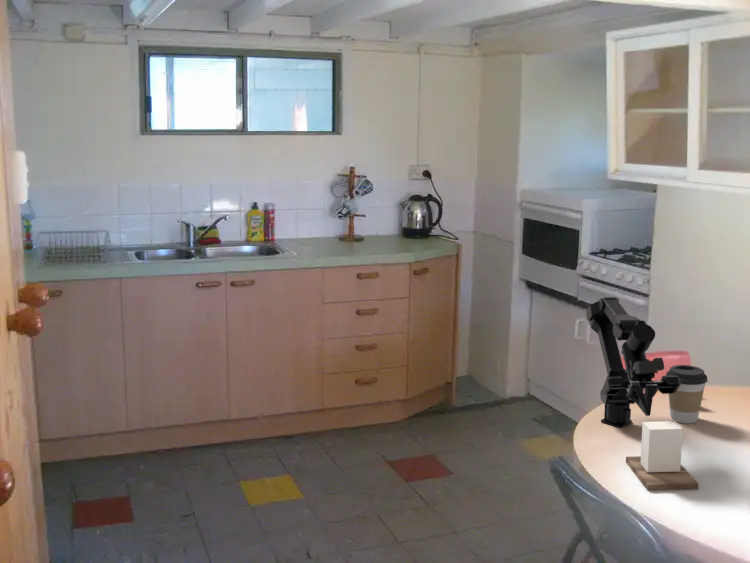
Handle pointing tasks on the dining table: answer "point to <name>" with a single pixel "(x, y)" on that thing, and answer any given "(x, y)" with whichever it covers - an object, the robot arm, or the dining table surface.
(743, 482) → the dining table surface
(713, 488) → the dining table surface
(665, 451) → the block
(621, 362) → the robot arm
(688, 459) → the dining table surface
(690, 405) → the coffee cup
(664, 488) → the board
